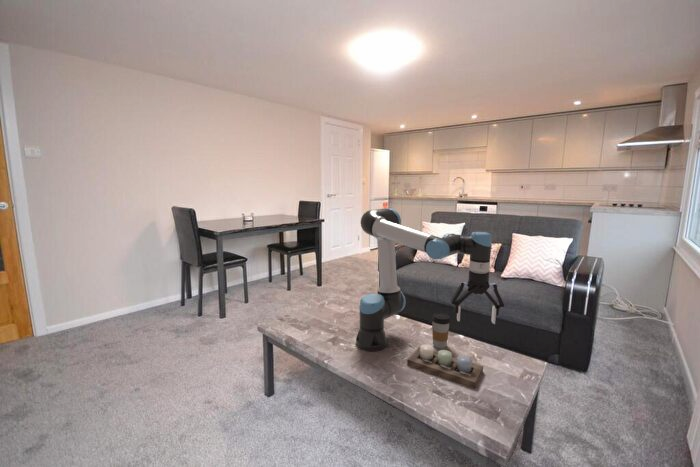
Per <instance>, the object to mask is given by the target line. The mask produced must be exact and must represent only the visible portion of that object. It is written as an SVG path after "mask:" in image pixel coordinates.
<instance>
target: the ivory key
mask: <svg viewBox="0 0 700 467" xmlns="http://www.w3.org/2000/svg"><path fill="white" fill-rule="evenodd" d="M419 347H420V357H421V358H420V359H421V360H424V361H428V360H429V361H431V359H432V358H433V351H434V347H433V346H432V345H430V344H421V345H420V346H419Z"/></svg>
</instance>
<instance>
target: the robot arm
mask: <svg viewBox="0 0 700 467" xmlns="http://www.w3.org/2000/svg"><path fill="white" fill-rule="evenodd" d="M360 227H361V229H362V231H363V232H364V233H366V234H368V235H370V236H372V237H374V238H375V240H377V241H376V242H377V244H376V245H377V259H378V272H379V276H378V277H379V287H378V288H377V293H372V294H371V293H369V294H366V295H363V297H361V298H360V302H359V306H358V308H359V329H358V331H357V334H356V338H355V345H356V346H357V348H359V349H361V350H363V351H367V352H377V351H381V350H384V349H386V347H387V346H388V337H387V335H386V332H385V329H384V328H385V320H386V319H388V318H391V317H393V316H395V315H398V314H399V313H400V312H402V311H403V310H404V308H405V306H406V302H407V300H406V296H405V295H404V293H403V292H402V290H401V287H400V286H398V279H397V259H396V244H395V243H397V244H400V245H404V246H406V247H409V248H410V249H411V248H412V249H413V250H418V251H420V252H422V253H425V254H427V256H428V257H429V258H430V259H432V260H436V261H437V260H442V259H443V260H444V259H445V258H447V257H450V256H454V255H455V254H462V255H467V256H468V255H469V266H468V267H469V268H468V269H469V271H468V281H467V282H464V281H463V280H460V282H459V285H458V288H457V289H456V291H455V292H454V294H453V295H452V298H451V299H450V303H451V304H452V305H454V312H455V313H456V320H457V322H461V309H462V308H461V303H462V302H464V301H465V300H466V299H467V298H468V297H469V296H470V295H472V294H473V295H483V294H485V295H486V297H487V298H488V299H489V301H490V302H491V303H492V304H493V305H491V306H492V307H491V308H492V309H491V321H490V322H491V323H492V324H493V325H496V317H497V316H499V312H500V309H501V308H504V307H505V303H504V302H503V299H502V297H501V295H500V293H499V290H498V285H497V283H496V282H492V283H490V282H489V281H490V273H489V272H490V270H491V269H490V268H491V253H492V246H493V244H492V234H491V233H490V232H486V231H473V232H471V235H464V234H456V233H445V234H443V236H441V237H439V236H436V235H433V234H430V233H427V232H423V231H421V230H417V229H414V228H411V227H408V226H405V225H402V219H401V215H400V213H399V212H398V211H397V210H395V209H394V208H389V207H386V208H385V207H384V208H378V209H377V208H376V209H369V210H367V211H366V212H364V213H363V215H362V216H361V217H360ZM466 287H467V289H466V290H465V291H464V293H462V292H463V290H464V289H465V288H466ZM490 288H491V290H493V293H494V295H495V297H496V300H497V301H498V303H497V301H496V300H495V298H493V297H492V295H491V294H490V293H489V292H488V290H489V289H490ZM461 293H462V294H461Z"/></svg>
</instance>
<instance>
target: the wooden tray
mask: <svg viewBox="0 0 700 467" xmlns="http://www.w3.org/2000/svg"><path fill="white" fill-rule="evenodd" d="M438 352H439V351H435V350H433V358H432V359H430V361H431V362H429V361H428V360H425V359H422V358H421V357H420V346H418V347H417V348H416V349H415V350H414V352H413V353H412V354H410V356H409V357H408V359H407V360H406V361H407V366H410V367H413V368H415V369H418V370H421V371H425V372H426V373H430V374H433V375H436V376H439V377H442V378H444V379H446V380H449V381H453V382H456V383H458V384H460V385H464V386H467V387H469V388H472V389H476V387H477V384H478V383H479V380H480V378H481V376H482V374H483V370H484V365H480V364H476V363H473V362H472V365H471V371H470V372H469V373H470V375H469V374H465V373H464V372H461V371H457V370H458V369H457V358H458V357H454V356H452V362H451V365H449V366H450V368H448V367H446V366H443V365H440V364H439V363H438Z"/></svg>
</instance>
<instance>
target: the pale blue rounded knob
mask: <svg viewBox="0 0 700 467" xmlns="http://www.w3.org/2000/svg"><path fill="white" fill-rule="evenodd" d="M456 358H457V370H458V371H459V372H461V373H471V372H470V371H471V365H472V363H473V361H472V358H471V357H469V356H466V355H459V356H458V357H456Z"/></svg>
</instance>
